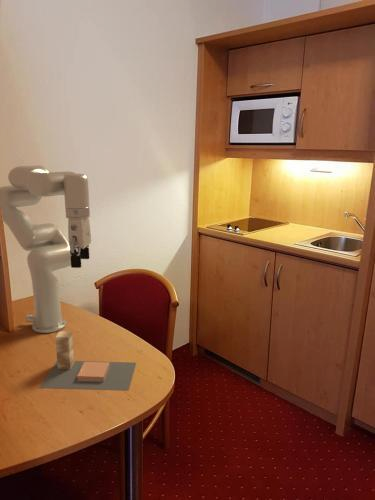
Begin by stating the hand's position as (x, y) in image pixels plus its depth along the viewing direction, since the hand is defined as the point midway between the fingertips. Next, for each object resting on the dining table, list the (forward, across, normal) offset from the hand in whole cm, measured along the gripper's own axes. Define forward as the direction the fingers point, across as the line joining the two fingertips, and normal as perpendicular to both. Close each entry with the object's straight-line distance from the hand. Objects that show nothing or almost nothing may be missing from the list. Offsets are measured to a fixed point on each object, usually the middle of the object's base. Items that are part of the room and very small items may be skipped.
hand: (80, 263), depth 134 cm
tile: (+29, -19, -4) cm, 35 cm away
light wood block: (+30, -15, +2) cm, 33 cm away
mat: (+30, -20, -7) cm, 37 cm away
